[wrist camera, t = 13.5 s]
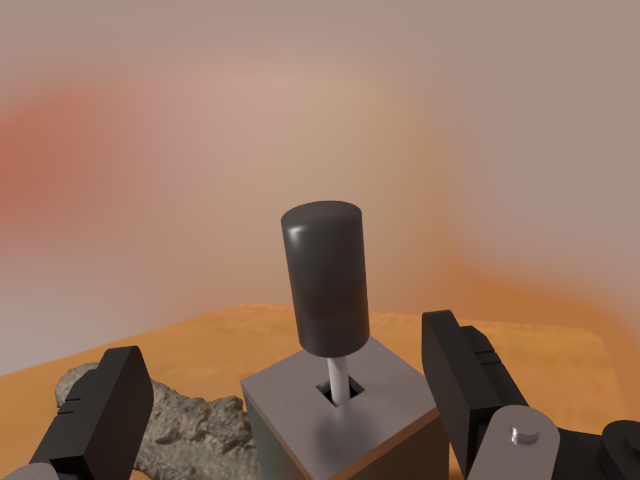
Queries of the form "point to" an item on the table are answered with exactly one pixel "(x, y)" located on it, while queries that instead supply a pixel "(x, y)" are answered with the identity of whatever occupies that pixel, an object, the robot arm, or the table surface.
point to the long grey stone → (189, 435)
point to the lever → (328, 284)
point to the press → (346, 420)
